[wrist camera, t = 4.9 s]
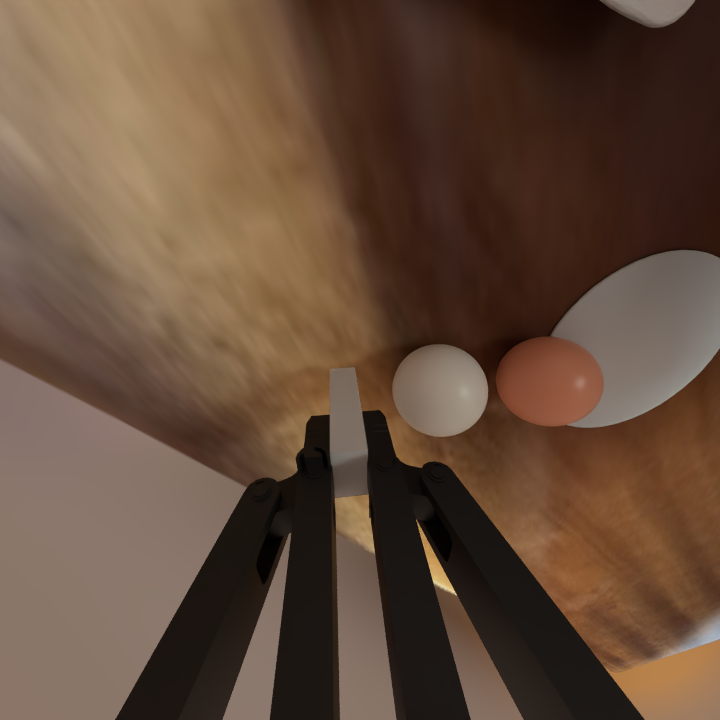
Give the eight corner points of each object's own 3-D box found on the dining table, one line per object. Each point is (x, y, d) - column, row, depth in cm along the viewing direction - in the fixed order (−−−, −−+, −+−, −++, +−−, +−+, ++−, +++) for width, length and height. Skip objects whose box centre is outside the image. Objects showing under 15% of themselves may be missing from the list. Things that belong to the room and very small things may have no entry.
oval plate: (782, 245, 18) (787, 246, 17) (669, 419, 24) (671, 420, 24) (573, 254, 16) (575, 254, 16) (515, 432, 23) (516, 434, 23)
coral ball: (533, 317, 19) (636, 344, 15) (514, 383, 22) (598, 420, 18) (487, 337, 17) (598, 376, 13) (471, 410, 19) (559, 461, 15)
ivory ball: (384, 365, 14) (403, 325, 19) (381, 445, 17) (398, 393, 21) (505, 383, 12) (492, 335, 17) (480, 467, 15) (475, 406, 20)
